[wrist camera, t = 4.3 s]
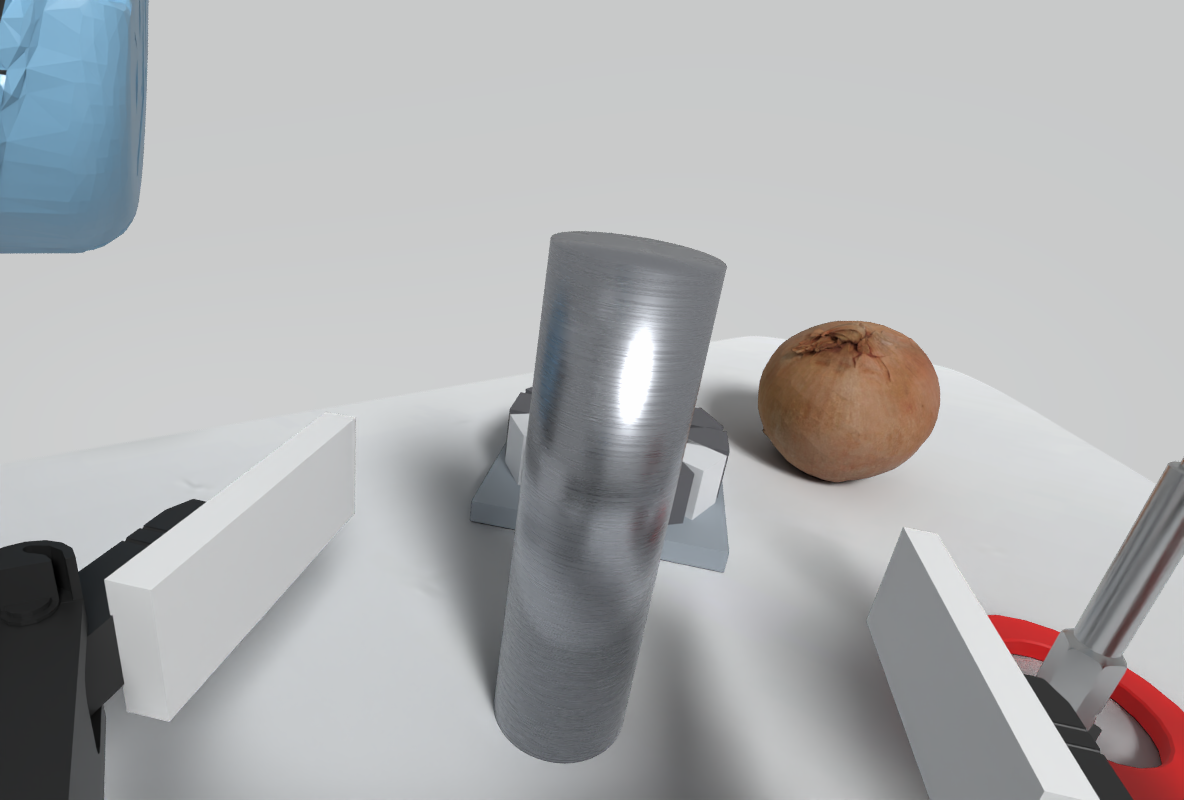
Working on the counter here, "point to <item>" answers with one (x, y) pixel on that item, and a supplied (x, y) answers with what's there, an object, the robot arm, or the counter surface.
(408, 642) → the counter surface
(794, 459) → the onion
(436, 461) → the counter surface
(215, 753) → the counter surface
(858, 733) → the counter surface
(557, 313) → the steel rod
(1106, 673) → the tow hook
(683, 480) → the chuck
